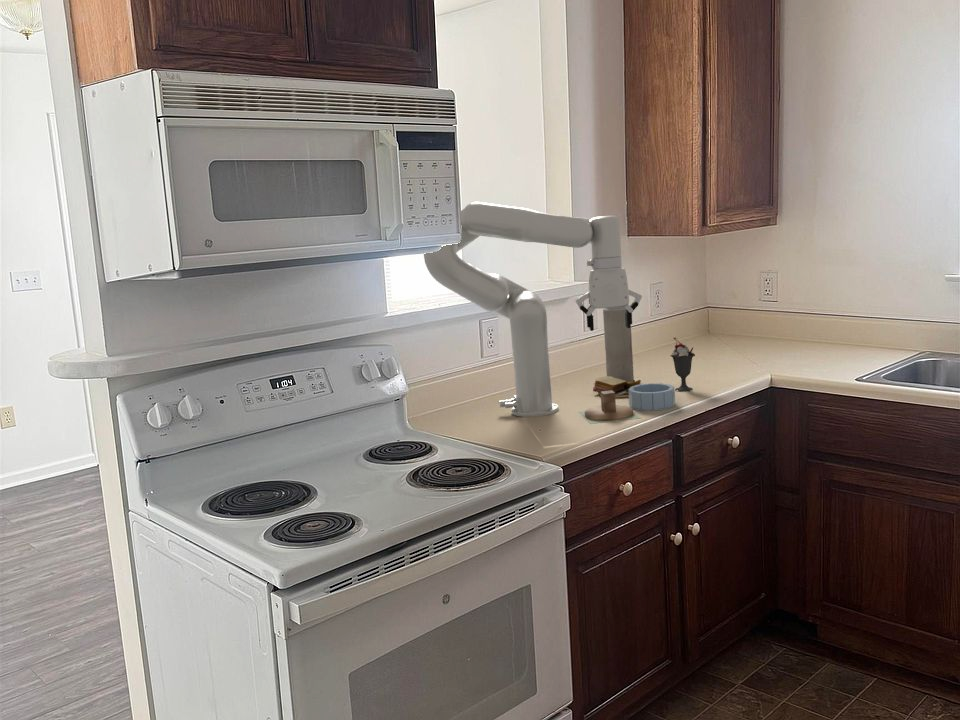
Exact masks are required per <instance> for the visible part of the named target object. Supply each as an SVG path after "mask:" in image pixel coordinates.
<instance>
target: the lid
mask: <svg viewBox="0 0 960 720" xmlns="http://www.w3.org/2000/svg"><path fill="white" fill-rule="evenodd" d="M584 411H585V417H586V418H587V419H590V420H595V421H612V422H617V421H616V420H621V421H623V420H622V419H626V418H629V417H631V416H633V414H634V413H635V412H634V409H632V408H631V407H630V406H627V405H621V404H618V405H617V403H616V398H615V392H613V391H612V390H611V391H601V396H600V405H598V406H594V407H591V408H590V407H589V408H588V409H586V410H584ZM633 412H634V413H633Z"/></svg>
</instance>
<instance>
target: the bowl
mask: <svg viewBox="0 0 960 720" xmlns="http://www.w3.org/2000/svg"><path fill="white" fill-rule="evenodd" d="M628 390H629V397H628V403H629V407H630V408H632V409H633V410H636V411H644V412H645V411H646V412H653V411H655V412H657V411H662V410H669V409H671V408H673V407H674V406H675V403H676V398H675V397H676V395H675V386H673V385H672V384H667V383H661V382H659V383H658V382H656V383H655V382H653V383H652V382H651V383H650V382H649V383H640V384H639V385H635V386H632V387H630V388H629V389H628Z"/></svg>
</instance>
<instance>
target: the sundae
mask: <svg viewBox="0 0 960 720" xmlns="http://www.w3.org/2000/svg"><path fill="white" fill-rule="evenodd" d="M672 339H673V340H675V341H676V344H675V345H674V349H673V350H672V352H671V355H670V357H671V358H672V361H673V366H674V369H675V370H674V371H675V373H676V375H677V376H678V377H679V378H681V382H680V383H681V384H680V386H679V387H675V388H674V391H676V390H678V391H677V392H681V391H685V392H691V391H693V390H694V389H693V387H690V386H688V385H687V381H686V379H687V377H688V376H689V375H690V374H691V373H692V371H691V370H692V364H693V363H692V362H693V358H694V357H696V355H695V353H694V352H693V350H694V347H691V349H689V346H687V345H685V344H683V343H682V342H680V341H679V340H678V339H677V338H676V337H673V338H672ZM690 390H691V391H690Z"/></svg>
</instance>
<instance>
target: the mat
mask: <svg viewBox="0 0 960 720" xmlns="http://www.w3.org/2000/svg"><path fill="white" fill-rule="evenodd" d="M585 411H586V410H584V411H578V413H579V415H581V417H583V418H584V419H585V420H586V421H587V422H588V423H589V424H591V425H593V424H601V423H611V422H612V423H613V421H595V420H590V419H587V418H586V417H585ZM633 413H634V414H633V416H631V417H629V418H626V419H622V420H616V421H615V422H620V421H627V420H628V421H629V420H637V419H638V420H639V419H642V417H641V416H640V415H638V414H637V413H635V412H634V411H633Z"/></svg>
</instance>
